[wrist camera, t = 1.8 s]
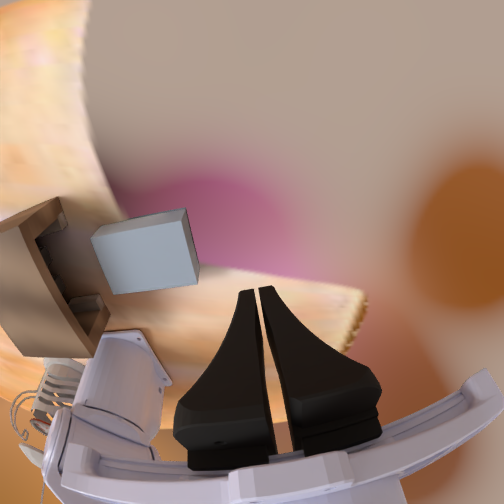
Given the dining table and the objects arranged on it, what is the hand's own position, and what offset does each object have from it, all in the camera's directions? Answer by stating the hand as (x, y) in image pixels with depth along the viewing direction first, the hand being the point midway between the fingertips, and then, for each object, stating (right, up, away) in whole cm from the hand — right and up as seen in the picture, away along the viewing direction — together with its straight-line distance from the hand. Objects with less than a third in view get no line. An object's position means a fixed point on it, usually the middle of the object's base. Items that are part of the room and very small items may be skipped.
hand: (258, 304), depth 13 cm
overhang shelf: (-20, +1, +7) cm, 21 cm away
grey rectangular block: (-8, +3, +8) cm, 12 cm away
